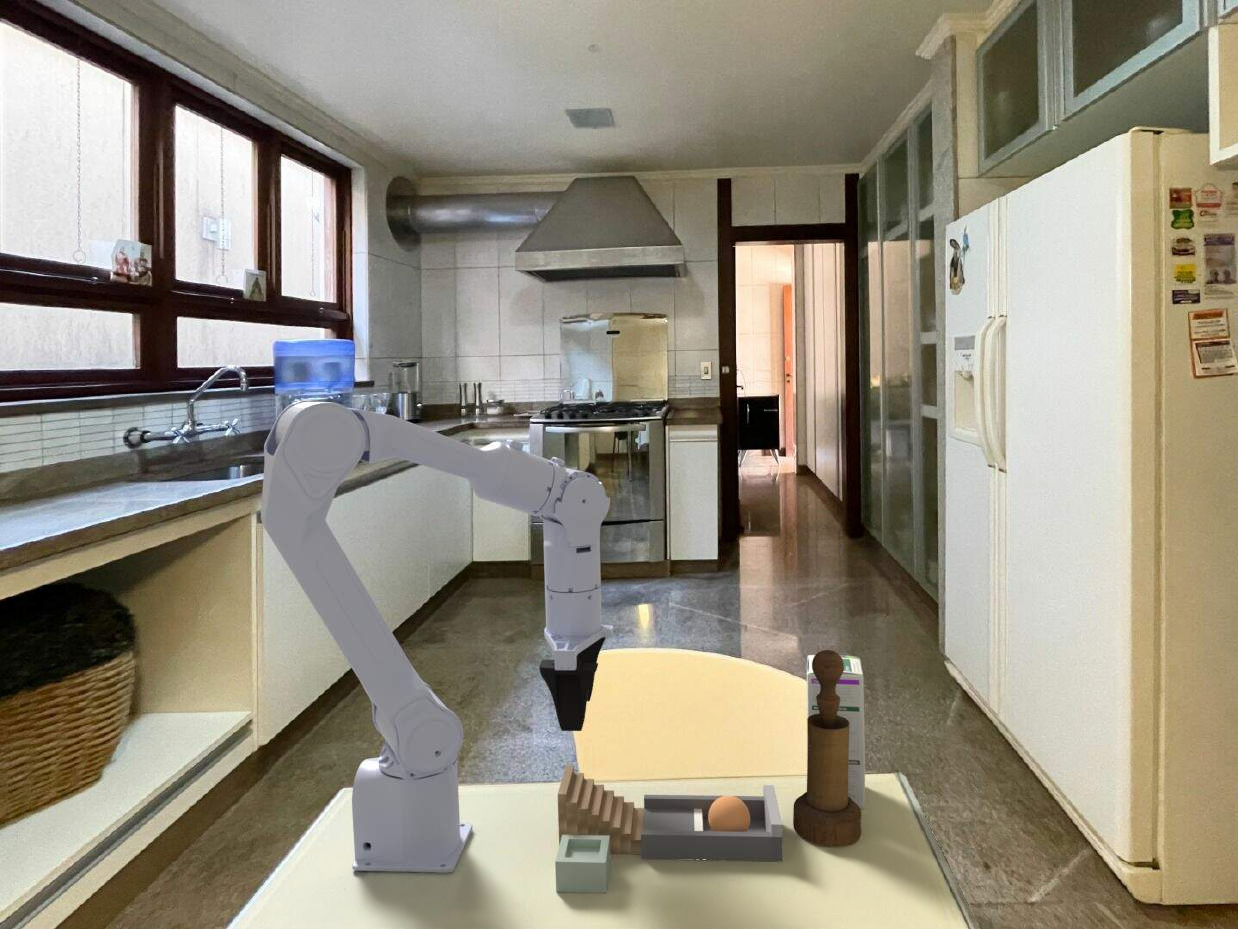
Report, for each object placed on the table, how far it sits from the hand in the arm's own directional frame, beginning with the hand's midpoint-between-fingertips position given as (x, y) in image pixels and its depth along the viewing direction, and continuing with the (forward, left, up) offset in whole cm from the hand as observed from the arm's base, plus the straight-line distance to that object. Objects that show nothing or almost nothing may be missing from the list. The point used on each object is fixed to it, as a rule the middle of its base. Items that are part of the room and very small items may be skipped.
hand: (576, 714), depth 90 cm
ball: (+15, -6, -8) cm, 18 cm away
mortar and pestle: (+25, -4, -10) cm, 27 cm away
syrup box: (+27, +3, -10) cm, 29 cm away
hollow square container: (+2, -13, -10) cm, 16 cm away
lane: (+13, -6, -10) cm, 17 cm away
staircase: (+4, -6, -10) cm, 12 cm away
